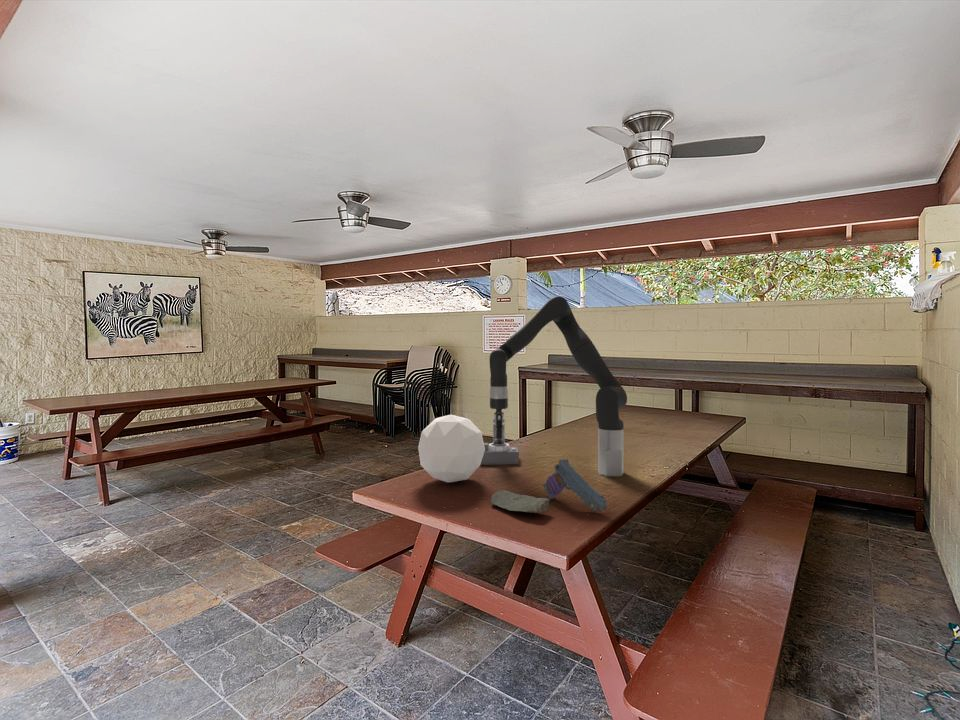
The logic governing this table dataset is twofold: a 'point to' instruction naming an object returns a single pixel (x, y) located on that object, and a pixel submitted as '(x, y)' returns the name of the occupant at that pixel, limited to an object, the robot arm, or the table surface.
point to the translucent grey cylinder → (495, 440)
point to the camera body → (500, 454)
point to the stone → (519, 502)
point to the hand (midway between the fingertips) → (499, 437)
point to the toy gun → (573, 486)
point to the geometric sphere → (451, 448)
